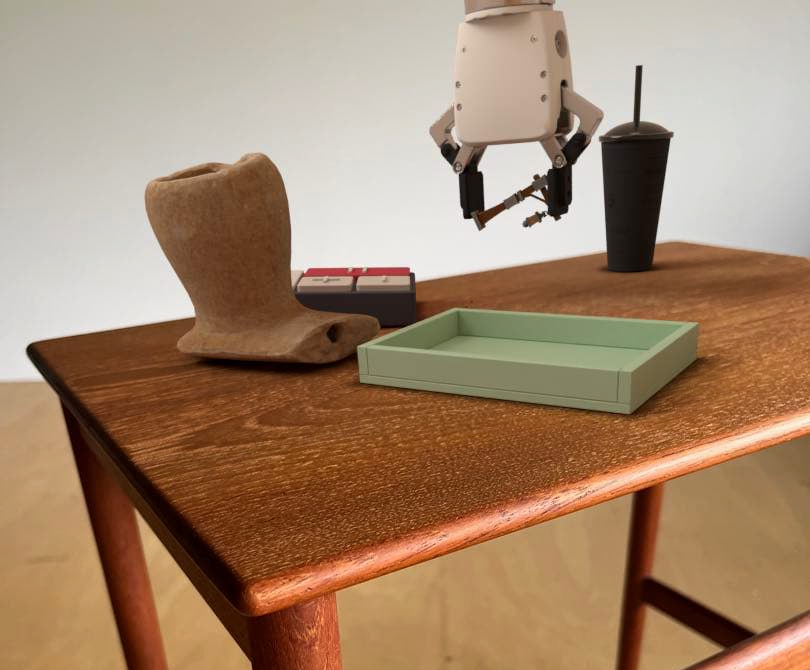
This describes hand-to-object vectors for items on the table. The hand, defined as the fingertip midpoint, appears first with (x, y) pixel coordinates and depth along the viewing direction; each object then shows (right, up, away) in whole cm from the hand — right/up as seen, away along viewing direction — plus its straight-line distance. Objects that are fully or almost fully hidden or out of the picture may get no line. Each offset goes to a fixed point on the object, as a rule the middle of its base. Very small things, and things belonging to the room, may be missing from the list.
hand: (515, 215), depth 82 cm
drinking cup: (+15, 0, +16) cm, 22 cm away
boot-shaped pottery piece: (-21, -16, -12) cm, 30 cm away
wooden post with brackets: (0, -1, +1) cm, 1 cm away
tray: (-2, -19, -20) cm, 27 cm away
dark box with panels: (-17, -10, +1) cm, 19 cm away
